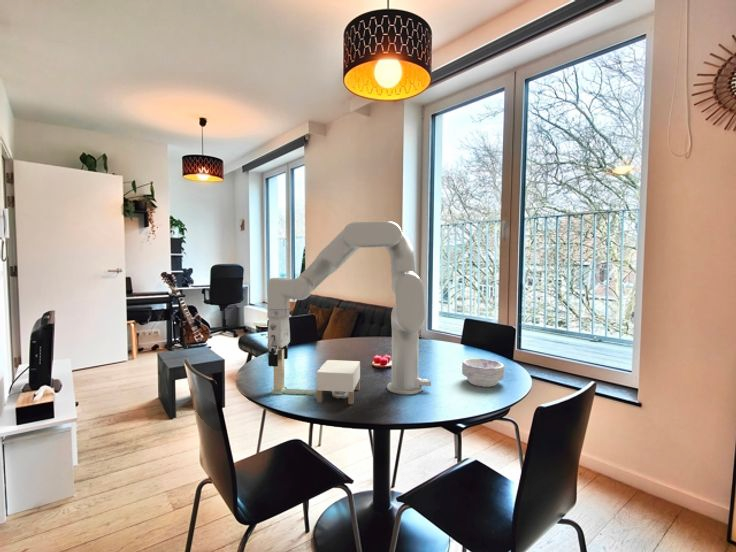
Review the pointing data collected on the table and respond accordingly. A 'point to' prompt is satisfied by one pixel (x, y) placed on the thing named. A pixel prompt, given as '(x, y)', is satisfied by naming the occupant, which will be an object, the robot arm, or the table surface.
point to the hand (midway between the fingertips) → (278, 362)
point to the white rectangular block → (339, 378)
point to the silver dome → (339, 394)
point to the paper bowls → (483, 371)
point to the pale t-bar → (279, 379)
